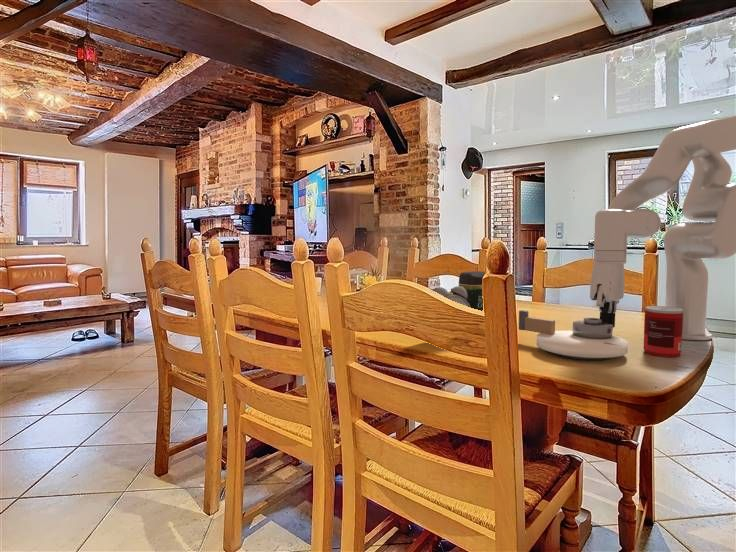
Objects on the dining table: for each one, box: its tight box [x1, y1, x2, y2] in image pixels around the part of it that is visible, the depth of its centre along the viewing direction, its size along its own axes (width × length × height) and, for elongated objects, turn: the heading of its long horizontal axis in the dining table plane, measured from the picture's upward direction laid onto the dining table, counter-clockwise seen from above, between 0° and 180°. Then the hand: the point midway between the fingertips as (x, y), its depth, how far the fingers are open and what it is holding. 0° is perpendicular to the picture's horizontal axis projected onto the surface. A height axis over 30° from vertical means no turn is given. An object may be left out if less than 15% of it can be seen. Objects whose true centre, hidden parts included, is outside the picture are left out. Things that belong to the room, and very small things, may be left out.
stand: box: [550, 352, 613, 361], centre depth 110 cm, size 14×14×1 cm
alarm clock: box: [432, 285, 470, 307], centre depth 124 cm, size 12×7×15 cm, turn 110°
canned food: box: [643, 305, 683, 358], centre depth 108 cm, size 8×8×11 cm
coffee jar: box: [458, 270, 486, 311], centre depth 131 cm, size 10×8×19 cm
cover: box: [571, 317, 614, 339], centre depth 113 cm, size 9×9×4 cm
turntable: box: [518, 309, 629, 359], centre depth 112 cm, size 20×27×7 cm
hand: (607, 327), depth 118 cm, fingers closed
